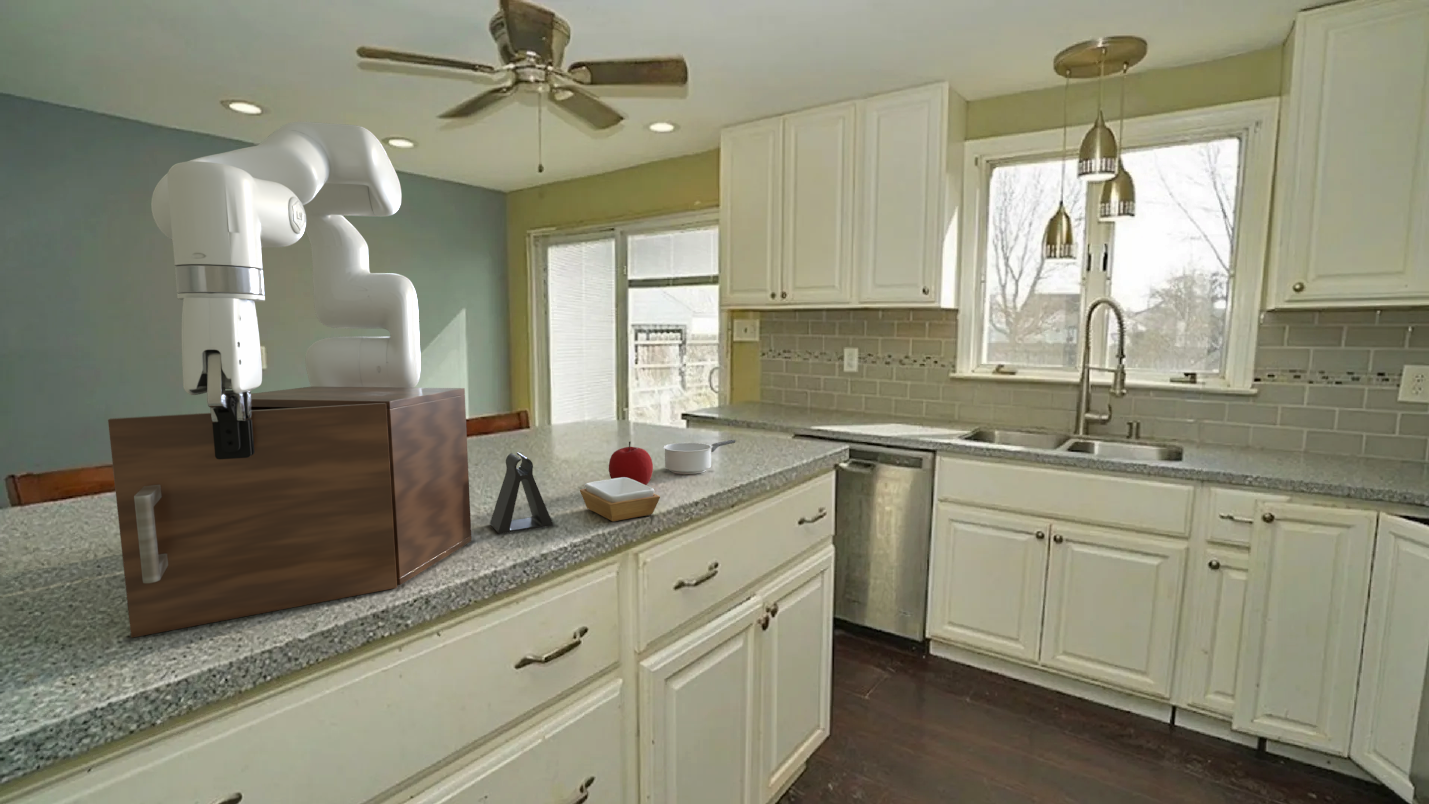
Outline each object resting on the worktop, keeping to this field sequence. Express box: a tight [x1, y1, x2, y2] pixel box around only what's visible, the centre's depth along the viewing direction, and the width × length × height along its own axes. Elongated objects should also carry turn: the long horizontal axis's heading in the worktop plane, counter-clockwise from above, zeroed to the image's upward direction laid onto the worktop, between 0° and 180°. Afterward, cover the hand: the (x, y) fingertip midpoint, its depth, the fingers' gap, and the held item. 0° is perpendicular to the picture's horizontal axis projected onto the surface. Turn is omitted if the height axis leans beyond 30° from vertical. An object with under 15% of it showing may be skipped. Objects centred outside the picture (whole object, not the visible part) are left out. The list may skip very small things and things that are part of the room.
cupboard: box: [209, 386, 472, 586], centre depth 96 cm, size 18×26×24 cm
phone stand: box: [489, 452, 554, 535], centre depth 112 cm, size 9×6×12 cm, turn 120°
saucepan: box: [662, 439, 736, 475], centre depth 158 cm, size 12×20×6 cm, turn 130°
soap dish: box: [579, 477, 661, 523], centre depth 120 cm, size 12×10×5 cm
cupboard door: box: [107, 403, 398, 639], centre depth 75 cm, size 6×26×24 cm, turn 122°
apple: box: [608, 441, 654, 486], centre depth 138 cm, size 9×9×10 cm
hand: (235, 456), depth 73 cm, fingers closed
